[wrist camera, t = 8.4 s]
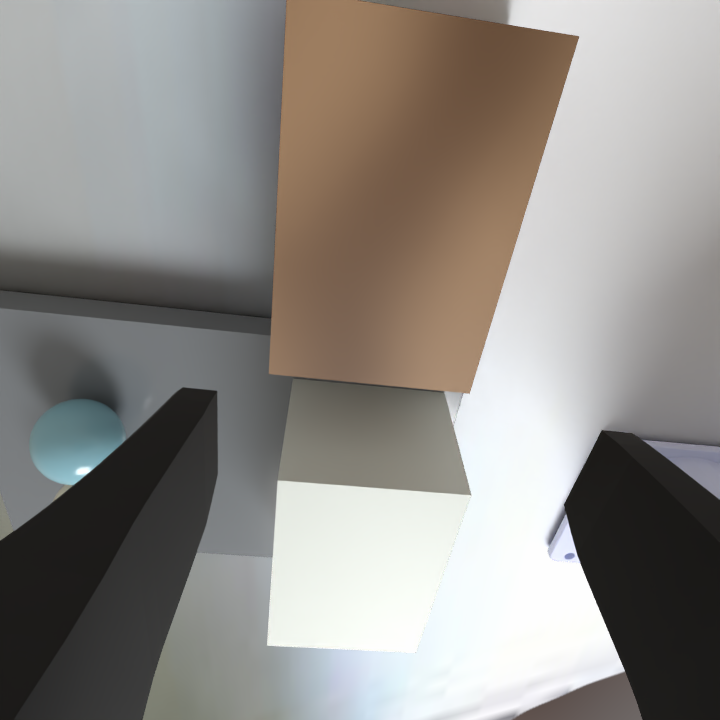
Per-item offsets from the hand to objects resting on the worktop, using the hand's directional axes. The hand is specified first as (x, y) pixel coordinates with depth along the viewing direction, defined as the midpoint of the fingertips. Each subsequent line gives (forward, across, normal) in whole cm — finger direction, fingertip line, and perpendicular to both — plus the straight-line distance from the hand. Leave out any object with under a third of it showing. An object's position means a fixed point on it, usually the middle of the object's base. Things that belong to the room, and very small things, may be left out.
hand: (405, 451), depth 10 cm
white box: (+8, 0, +9) cm, 12 cm away
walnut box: (+9, 0, -3) cm, 10 cm away
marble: (+8, +10, +7) cm, 14 cm away
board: (+9, +5, +9) cm, 14 cm away
